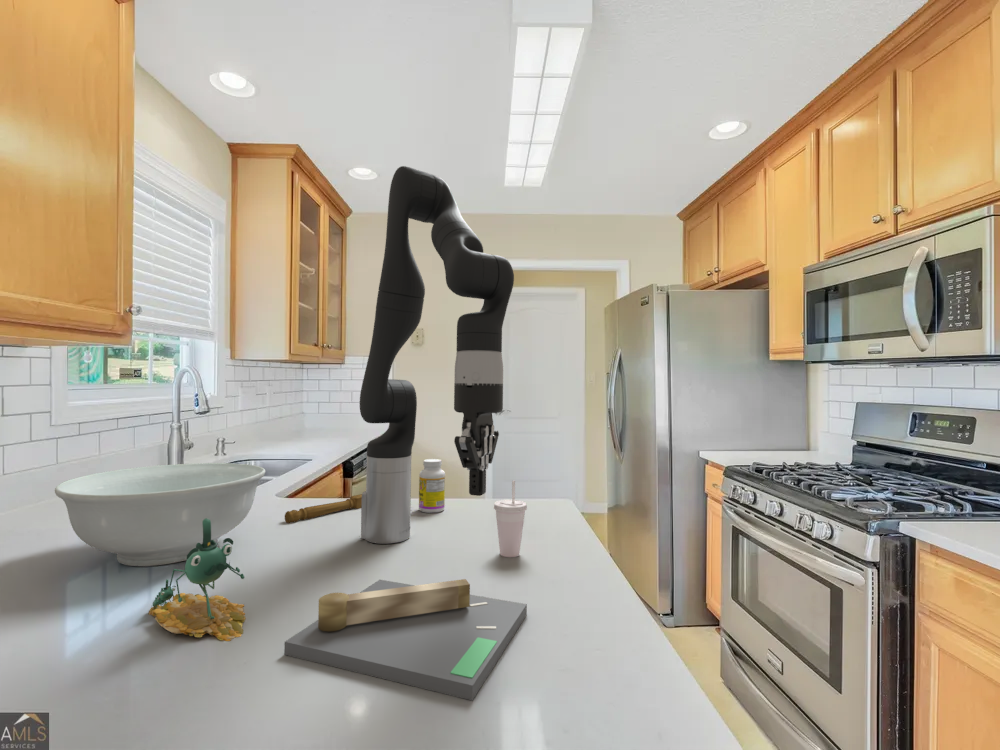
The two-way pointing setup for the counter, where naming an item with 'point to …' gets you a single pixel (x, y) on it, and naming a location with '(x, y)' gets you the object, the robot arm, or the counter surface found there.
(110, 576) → the counter surface
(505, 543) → the smoothie
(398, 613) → the dial lever
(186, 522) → the bowl
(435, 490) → the supplement bottle
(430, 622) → the dial plate
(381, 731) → the counter surface
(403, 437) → the robot arm
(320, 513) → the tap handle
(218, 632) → the green cartoon bug figurine
